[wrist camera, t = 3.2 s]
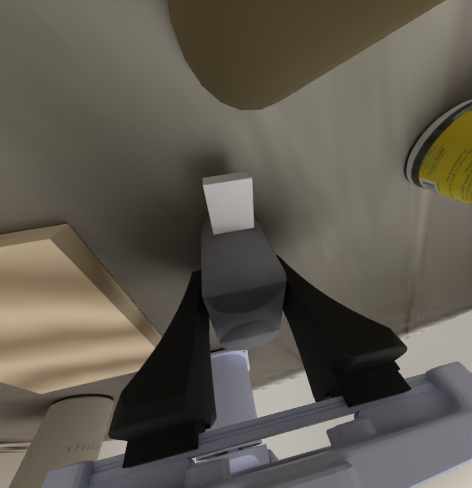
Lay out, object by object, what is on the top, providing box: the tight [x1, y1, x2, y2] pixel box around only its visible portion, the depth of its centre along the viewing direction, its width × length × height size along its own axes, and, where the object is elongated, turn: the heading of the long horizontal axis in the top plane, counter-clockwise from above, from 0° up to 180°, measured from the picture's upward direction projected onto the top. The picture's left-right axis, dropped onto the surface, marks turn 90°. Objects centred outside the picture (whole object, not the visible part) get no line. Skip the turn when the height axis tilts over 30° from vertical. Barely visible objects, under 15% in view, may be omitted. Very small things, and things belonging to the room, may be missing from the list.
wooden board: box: [0, 224, 162, 394], centre depth 14 cm, size 18×14×2 cm
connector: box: [201, 171, 286, 351], centre depth 11 cm, size 11×4×5 cm, turn 6°
